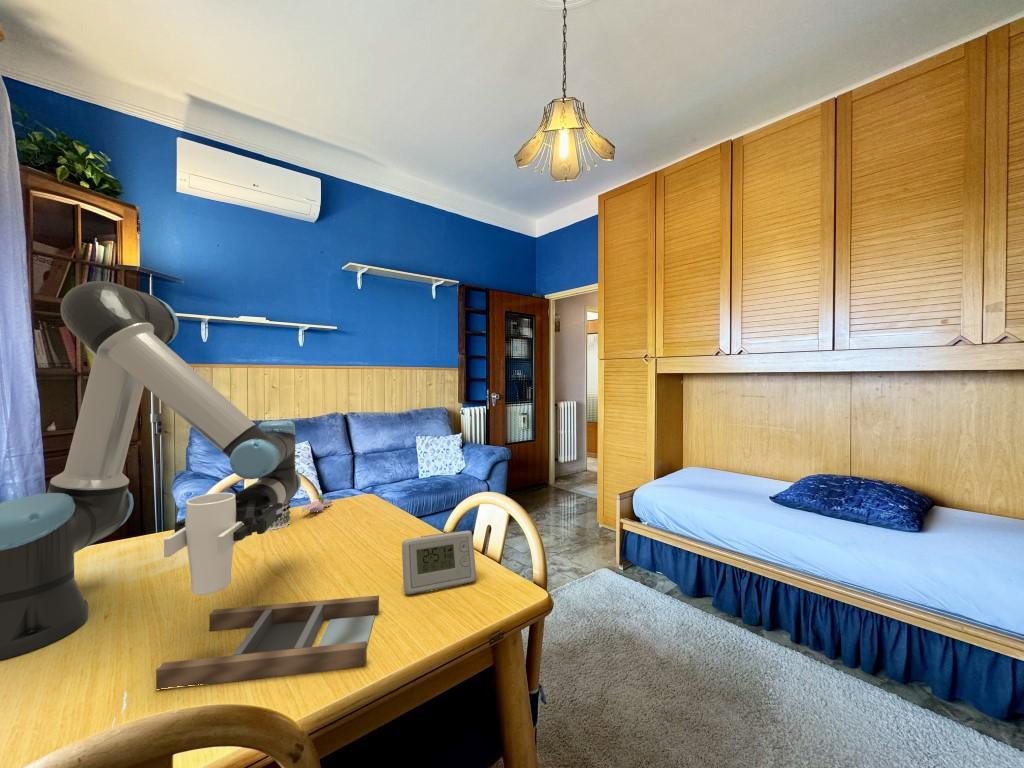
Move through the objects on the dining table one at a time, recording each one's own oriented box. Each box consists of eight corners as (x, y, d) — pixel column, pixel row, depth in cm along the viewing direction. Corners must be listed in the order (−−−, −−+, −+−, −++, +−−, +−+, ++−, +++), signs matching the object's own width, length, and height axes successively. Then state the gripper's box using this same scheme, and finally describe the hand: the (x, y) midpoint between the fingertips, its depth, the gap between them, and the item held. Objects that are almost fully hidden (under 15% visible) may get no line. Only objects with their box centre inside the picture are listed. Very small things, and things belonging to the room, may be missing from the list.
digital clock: (400, 598, 84) (400, 547, 84) (403, 577, 93) (403, 531, 93) (478, 590, 87) (478, 541, 87) (473, 571, 96) (474, 526, 96)
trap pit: (232, 674, 62) (231, 655, 62) (265, 626, 74) (265, 610, 74) (302, 666, 64) (301, 647, 64) (323, 620, 76) (323, 604, 76)
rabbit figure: (319, 508, 144) (295, 516, 130) (321, 491, 145) (296, 497, 130) (336, 509, 144) (313, 516, 129) (338, 492, 145) (315, 497, 130)
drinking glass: (216, 599, 64) (216, 504, 63) (174, 598, 64) (173, 504, 63) (245, 578, 70) (245, 492, 70) (207, 577, 70) (206, 492, 70)
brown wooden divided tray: (156, 690, 59) (156, 670, 59) (214, 625, 74) (214, 609, 74) (364, 666, 64) (364, 647, 64) (378, 610, 79) (378, 595, 79)
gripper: (308, 516, 86) (263, 566, 64) (206, 521, 83) (120, 575, 60) (309, 481, 86) (263, 519, 64) (206, 484, 83) (120, 525, 60)
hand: (193, 546), depth 62 cm, fingers closed on drinking glass, 6 cm apart
